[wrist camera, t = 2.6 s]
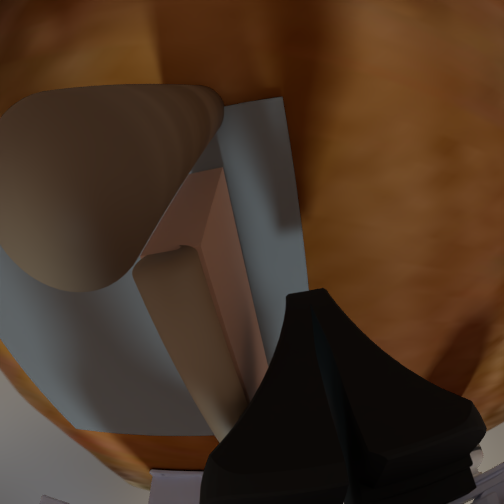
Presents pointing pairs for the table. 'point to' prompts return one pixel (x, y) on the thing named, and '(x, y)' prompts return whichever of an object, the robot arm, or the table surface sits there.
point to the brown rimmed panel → (204, 300)
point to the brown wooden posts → (96, 175)
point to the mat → (134, 310)
